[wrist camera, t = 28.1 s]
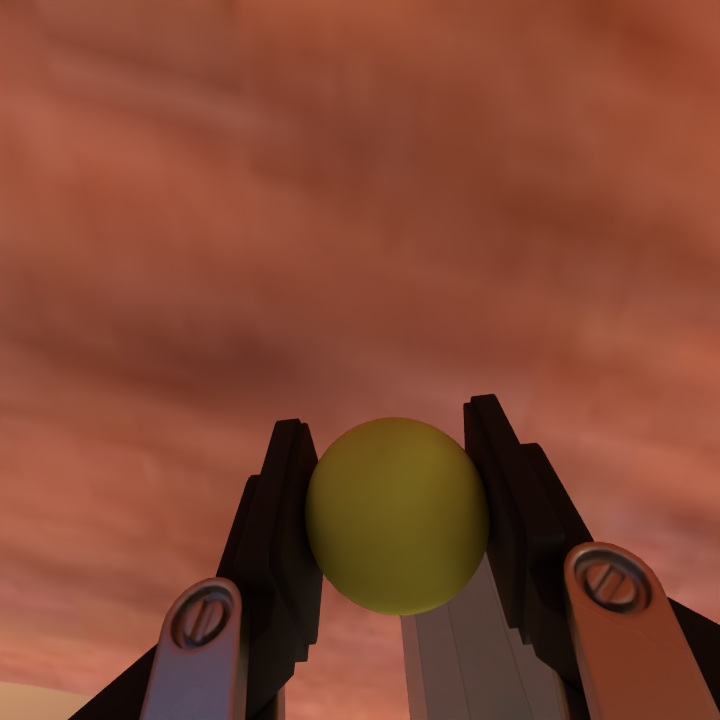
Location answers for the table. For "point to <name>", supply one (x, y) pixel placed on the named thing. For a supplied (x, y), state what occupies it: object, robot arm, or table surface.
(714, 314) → the table surface
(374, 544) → the plum
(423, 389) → the table surface
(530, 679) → the tumbler
